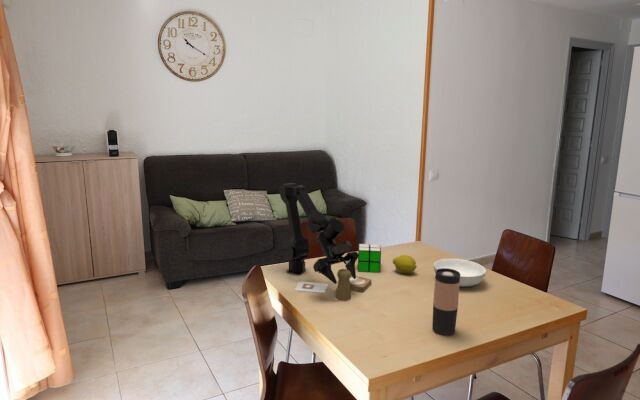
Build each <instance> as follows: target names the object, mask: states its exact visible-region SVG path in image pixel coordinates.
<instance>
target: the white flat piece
mask: <svg viewBox="0 0 640 400" xmlns="http://www.w3.org/2000/svg"><path fill="white" fill-rule="evenodd" d="M328 286H329V284H328V283H321V282H311V281H310V282H309V281H308V282H307V281H299V282H298V284H297V286H296V287H295V288H294V291H295V292H296V291H297V292H307V293H319V294H320V293H321V294H325V293H326V291H327V288H328Z"/></svg>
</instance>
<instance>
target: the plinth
mask: <svg viewBox="0 0 640 400" xmlns="http://www.w3.org/2000/svg"><path fill="white" fill-rule="evenodd" d="M371 285H372V278H367V277H361V276H357V275H356V278H355V279H354V278H353V277H352V276H351V277H350V289H351V291H355V292H360V293H364V292H365V291H366V290H367V289H368V288H369V287H370V286H371Z"/></svg>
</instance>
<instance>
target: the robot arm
mask: <svg viewBox="0 0 640 400" xmlns="http://www.w3.org/2000/svg"><path fill="white" fill-rule="evenodd" d="M278 193H279V195H280V196H279V197H280V200H281V201H282V202H283V203H284V204H285V208H286V214H287V220H288V221H287V222H288V225H289V231H290V233H289V234H290V239H289V241H288V249H287V251H285V253H284V254H285V259H287V260H288V270H286V273H288V274H289V273H290V274H294V275H301V274H303V273H304V272H306V271H307V269H306V262H305V259H307V258H308V257H309V253H310V244H309V239H308V238H307V237H305V236H304V235H303V231H302V224H301V219H300V213H299V207H298V203H299V204H300V207H301V208H302V211H304V213H305V215H306V218H307V222H306V223H307V225H308V228H309V231H310V232H311V233H314V234H315V233H319V234H316V237H315V240H314V242H316V243H317V242H318V243H319V244H320V247H321V249H322V252H321V254H322V255H324V256H325V257H322V258H318V259H317V260H316V261H315V262H314V263H313V266H312V267H313V270H314V272H315V273H317V272H318V274H321V275H323V276H324V277H326V278H327V279H328V280H330V282H332V283H333V284H335V285H337V284H338V280H337V279H336V276H335V274H334V272H333V271H332V265H336V264H341V263H344V266H345V269H347V270H349V271H350V272H351V276H352V277H353V278H354V279H355V278H356V276H357V273H356V262H357V261H358V257H359V255H358V251H350V250H351V249H352V243H351V241H350V240H346V241H343V244H342V243H341V244H340V243H338V242H337V243H336V241H335V240H336V239H337V238H338V237H339V236H341V234H342V233H343V231H344V230H345V225H344V223H343V222H342V221H340V220H339V219H336V217H335V216H334V217H330V218H329V219H328V218H327V217H326V216H325V214H324V213H322V212H320V211H319V210H318V209H317V207H316V205H315V204H314V202H313V200H312V198H311V196H310V195H309V193H308V191H307V187H306V186H305V185H298V184H297V183H295V182H292V183H291V182H290V183H289V182H288V183H282V184H280V186H279V187H278ZM344 255H345V256H344Z"/></svg>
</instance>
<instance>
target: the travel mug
mask: <svg viewBox="0 0 640 400" xmlns="http://www.w3.org/2000/svg"><path fill="white" fill-rule="evenodd" d="M434 278H435V279H434V291H433V303H432V323H431V324H432V325H431V326H432V327H431V328H432V331H433V332H434V333H435V334H437V335H439V336H440V335H441V336H447V337H448V336H453V335H454V334H455V333H456V325H457V317H458V309H459V297H460V286H459V284H460V273H459V272H458V271H456V270H453V269H447V268H442V269H438V270H436V273H435V277H434Z"/></svg>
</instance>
